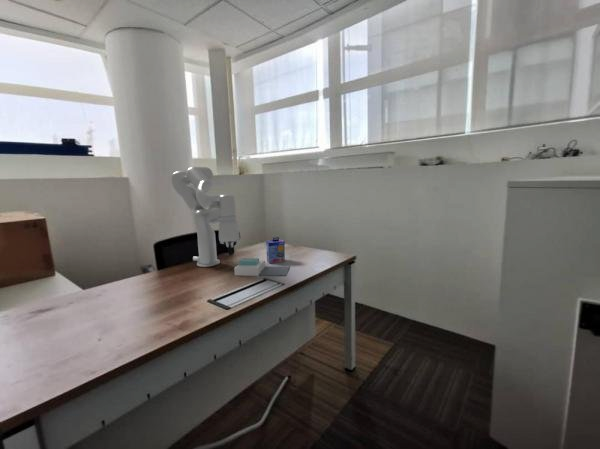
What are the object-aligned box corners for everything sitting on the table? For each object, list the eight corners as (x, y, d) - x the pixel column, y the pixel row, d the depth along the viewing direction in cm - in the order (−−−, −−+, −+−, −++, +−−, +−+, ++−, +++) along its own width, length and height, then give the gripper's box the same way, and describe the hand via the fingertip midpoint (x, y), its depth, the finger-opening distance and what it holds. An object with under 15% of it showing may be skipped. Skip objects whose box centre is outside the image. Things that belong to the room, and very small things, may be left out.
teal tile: (238, 265, 141) (238, 261, 140) (242, 261, 146) (242, 258, 146) (256, 265, 140) (256, 261, 139) (259, 262, 145) (258, 258, 145)
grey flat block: (234, 275, 137) (234, 267, 137) (243, 266, 151) (242, 259, 150) (258, 275, 136) (258, 267, 135) (264, 267, 150) (264, 259, 149)
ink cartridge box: (269, 263, 156) (268, 238, 154) (266, 261, 161) (265, 236, 158) (285, 261, 160) (284, 236, 158) (282, 259, 165) (281, 235, 163)
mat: (259, 275, 136) (259, 274, 136) (265, 267, 150) (265, 266, 150) (285, 276, 135) (285, 275, 135) (289, 267, 148) (289, 266, 148)
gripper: (211, 220, 137) (214, 256, 140) (240, 219, 136) (243, 255, 138) (217, 218, 145) (220, 253, 147) (245, 217, 143) (247, 252, 146)
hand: (231, 254), depth 143 cm, fingers closed
